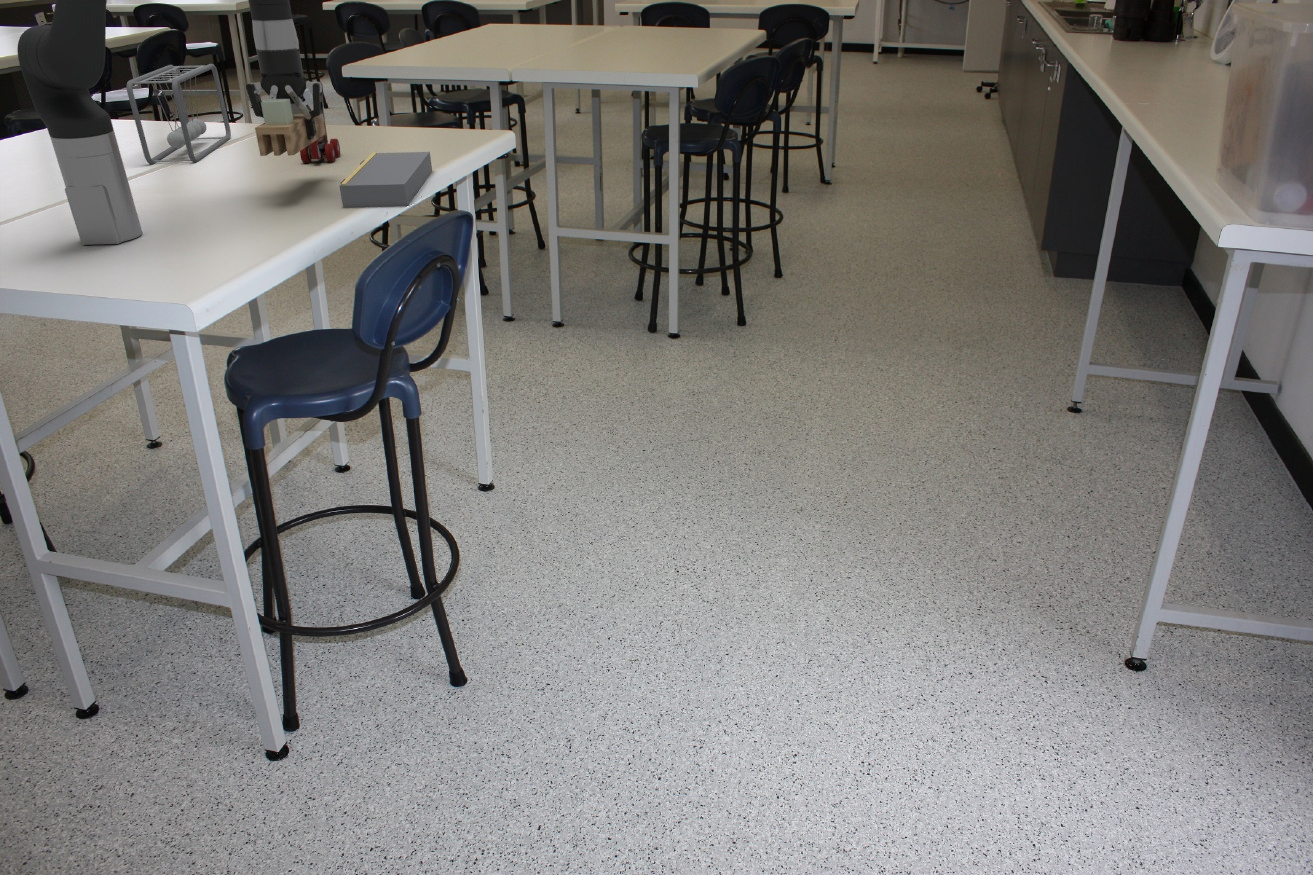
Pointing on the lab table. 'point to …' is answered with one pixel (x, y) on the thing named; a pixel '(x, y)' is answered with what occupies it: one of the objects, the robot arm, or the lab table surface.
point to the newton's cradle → (179, 113)
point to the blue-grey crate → (307, 96)
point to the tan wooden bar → (287, 136)
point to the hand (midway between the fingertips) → (294, 139)
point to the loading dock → (386, 179)
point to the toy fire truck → (321, 148)
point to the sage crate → (277, 111)
